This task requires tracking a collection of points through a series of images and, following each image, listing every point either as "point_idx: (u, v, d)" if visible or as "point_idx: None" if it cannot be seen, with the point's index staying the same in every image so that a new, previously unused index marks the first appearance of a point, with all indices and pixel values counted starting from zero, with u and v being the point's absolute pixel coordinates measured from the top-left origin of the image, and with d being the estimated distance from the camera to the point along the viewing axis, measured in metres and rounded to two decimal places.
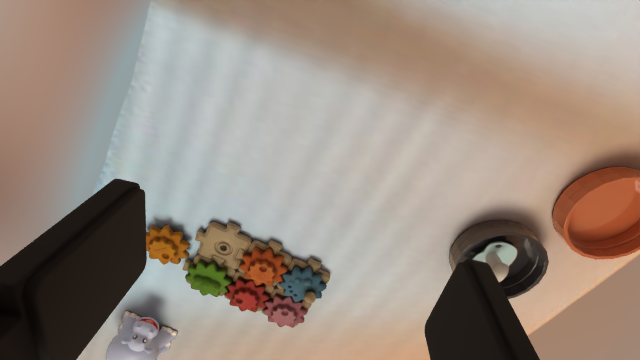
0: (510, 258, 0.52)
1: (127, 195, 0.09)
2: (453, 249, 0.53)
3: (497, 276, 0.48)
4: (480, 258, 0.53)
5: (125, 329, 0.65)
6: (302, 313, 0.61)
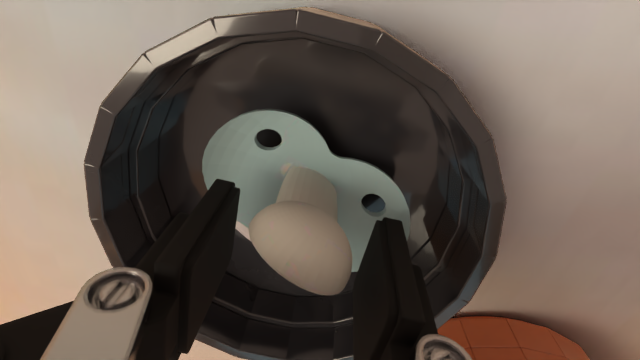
0: None
1: (231, 193, 0.10)
2: (335, 14, 0.10)
3: (310, 254, 0.08)
4: (297, 149, 0.12)
5: None
6: None
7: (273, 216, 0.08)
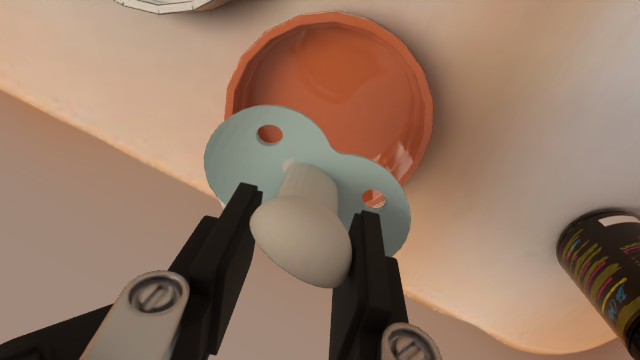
0: None
1: (255, 197, 0.10)
2: None
3: (310, 247, 0.08)
4: (298, 144, 0.12)
5: None
6: None
7: (274, 209, 0.09)
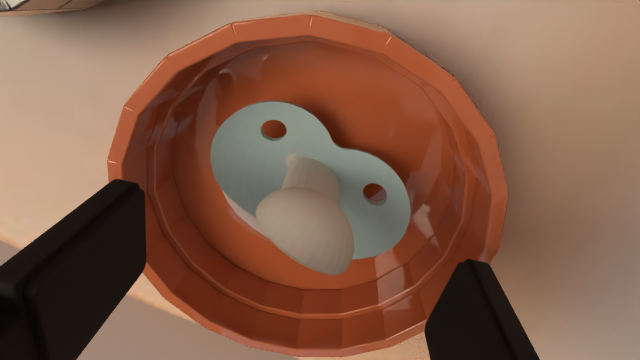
0: None
1: (127, 195, 0.09)
2: None
3: (314, 235, 0.08)
4: (302, 139, 0.12)
5: None
6: None
7: (279, 200, 0.09)
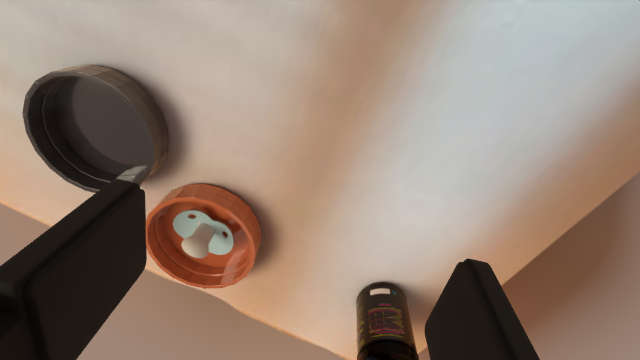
0: (209, 249, 0.42)
1: (127, 195, 0.09)
2: (97, 67, 0.34)
3: (192, 248, 0.37)
4: (201, 218, 0.41)
5: None
6: None
7: (186, 240, 0.37)
